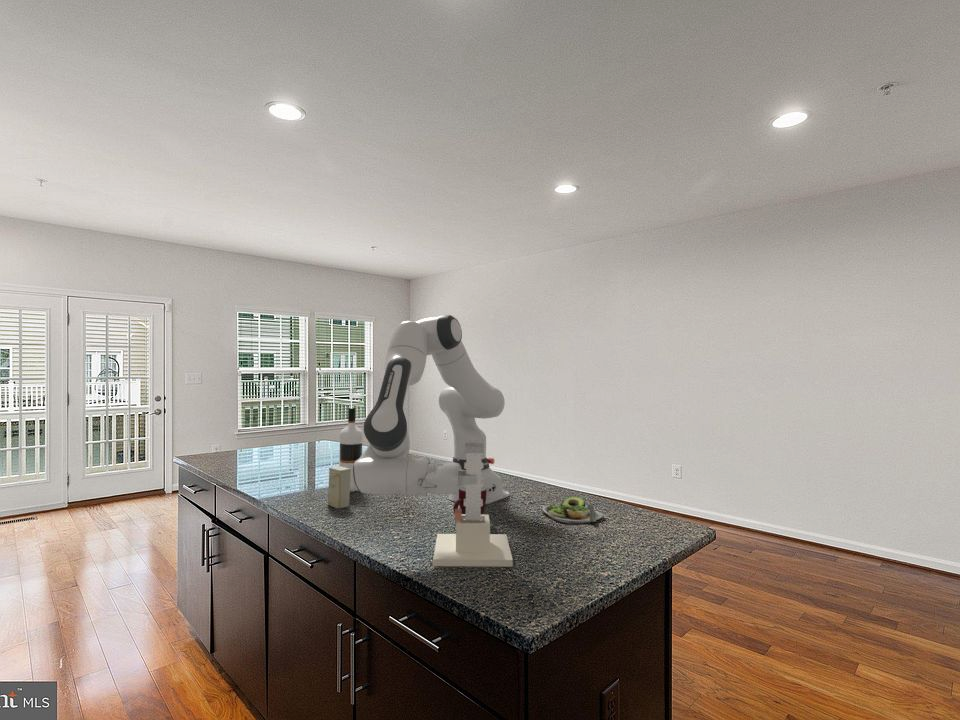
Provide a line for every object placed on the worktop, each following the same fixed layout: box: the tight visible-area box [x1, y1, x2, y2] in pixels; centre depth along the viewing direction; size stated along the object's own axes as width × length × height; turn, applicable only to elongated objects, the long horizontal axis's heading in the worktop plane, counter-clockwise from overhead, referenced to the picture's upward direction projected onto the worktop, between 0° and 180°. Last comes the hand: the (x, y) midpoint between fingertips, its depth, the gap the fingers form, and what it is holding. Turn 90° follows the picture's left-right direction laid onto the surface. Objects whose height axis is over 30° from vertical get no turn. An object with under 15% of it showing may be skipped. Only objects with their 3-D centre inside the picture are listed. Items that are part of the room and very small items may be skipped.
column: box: [463, 443, 484, 523], centre depth 124 cm, size 6×5×24 cm
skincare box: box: [327, 465, 351, 509], centre depth 163 cm, size 6×4×12 cm
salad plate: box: [541, 496, 604, 525], centre depth 155 cm, size 19×18×5 cm
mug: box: [452, 486, 486, 515], centre depth 146 cm, size 10×8×10 cm
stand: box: [432, 508, 514, 568], centre depth 123 cm, size 18×18×10 cm
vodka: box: [338, 407, 364, 493], centre depth 185 cm, size 9×9×30 cm
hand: (477, 477), depth 124 cm, fingers closed on column, 4 cm apart
